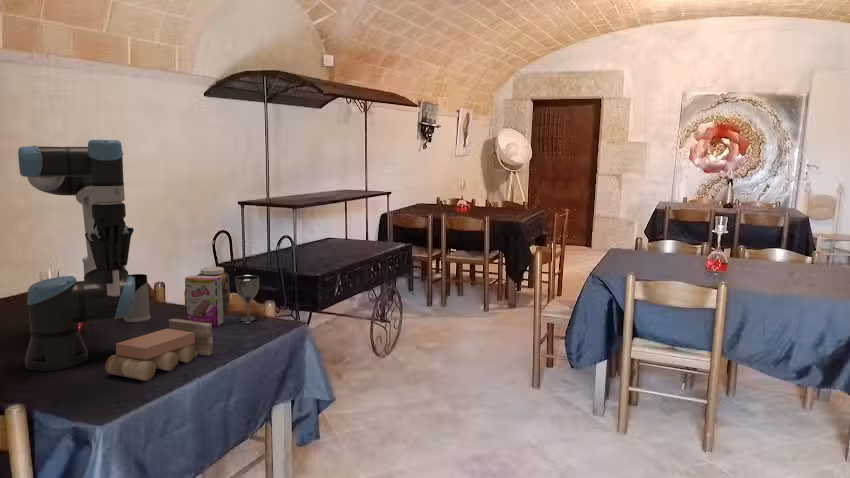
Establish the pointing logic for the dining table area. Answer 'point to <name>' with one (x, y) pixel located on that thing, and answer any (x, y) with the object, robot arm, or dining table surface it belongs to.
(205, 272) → the jar
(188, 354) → the roller loose
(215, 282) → the candy bar box
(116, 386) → the dining table surface
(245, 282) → the wine glass
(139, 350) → the slab
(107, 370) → the roller rack
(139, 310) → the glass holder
